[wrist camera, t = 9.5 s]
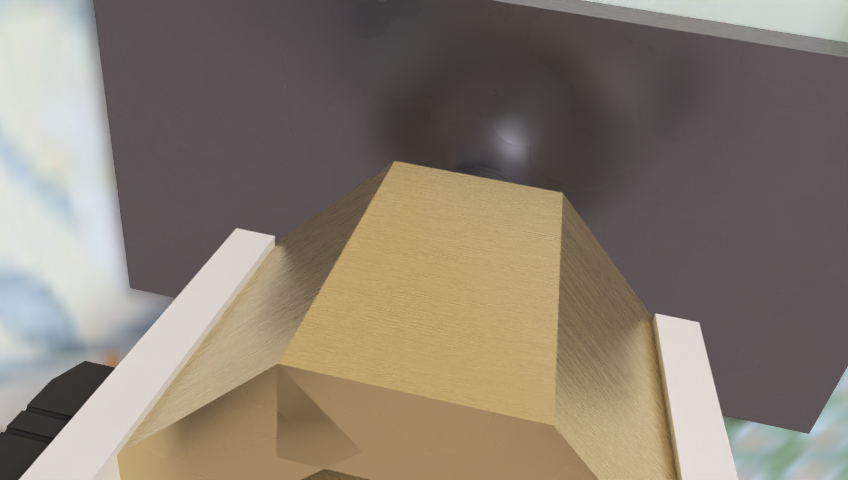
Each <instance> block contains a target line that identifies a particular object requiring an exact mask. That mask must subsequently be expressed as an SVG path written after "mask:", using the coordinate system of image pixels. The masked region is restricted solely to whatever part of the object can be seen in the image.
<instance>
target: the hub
mask: <svg viewBox="0 0 848 480" xmlns="http://www.w3.org/2000/svg"><path fill="white" fill-rule="evenodd" d="M117 460H118V467H119V473H120V480H677V475H676V469H675V463H674V456H673V450H672V444H671V438H670V432H669V425H668V419H667V413H666V407H665V400H664V394H663V388H662V382H661V375H660V369H659V363H658V357H657V351H656V344H655V338H654V332H653V326H652V317H651V315H650V313H649V312H648V310H647V309H646V308H645V306H644V305H643V303H642V302H641V301H640V299H639V298H638V296H637V295H636V294H635V292H634V291H633V290H632V288H631V287H630V285H629V284H628V283H627V281H626V280H625V278H624V277H623V276H622V274H621V273H620V272H619V270H618V269H617V267H616V266H615V265H614V263H613V262H612V260H611V259H610V258H609V256H608V255H607V253H606V252H605V251H604V249H603V248H602V247H601V245H600V244H599V242H598V241H597V240H596V238H595V237H594V235H593V234H592V233H591V231H590V230H589V228H588V227H587V226H586V224H585V223H584V222H583V220H582V219H581V217H580V216H579V215H578V213H577V212H576V210H575V209H574V208H573V206H572V205H571V203H570V202H569V201H568V199H567V198H566V197H565V195H564V194H563V193H562V192H556V191H551V190H546V189H541V188H535V187H530V186H525V185H520V184H514V183H509V182H504V181H498V180H493V179H488V178H483V177H477V176H472V175H467V174H462V173H456V172H451V171H446V170H441V169H435V168H430V167H425V166H419V165H414V164H409V163H404V162H398V161H394V162H392V163H391V164H389V165H388V166H386V167H385V168H383V169H382V170H380V171H379V172H378V173H376V174H375V175H373V176H372V177H370V178H369V179H367V180H366V181H364V182H363V183H361V184H360V185H358V186H357V187H355V188H354V189H353V190H351V191H350V192H348V193H347V194H345V195H344V196H342V197H341V198H339V199H338V200H336V201H335V202H333V203H332V204H331V205H329V206H328V207H326V208H325V209H323V210H322V211H320V212H319V213H317V214H316V215H314V216H313V217H311V218H310V219H308V220H307V221H306V222H304V223H303V224H301V225H300V226H298V227H297V228H295V229H294V230H292V231H291V232H289V233H288V234H286V235H285V236H283V237H282V238H281V239H279V240H278V242H277V243H276V244H275V246H274V247H273V249H272V250H271V251H270V253H269V254H268V255H267V257H266V258H265V259H264V261H263V262H262V263H261V265H260V266H259V267H258V269H257V270H256V271H255V273H254V274H253V275H252V277H251V278H250V279H249V281H248V282H247V283H246V284H245V286H244V287H243V288H242V290H241V291H240V292H239V294H238V295H237V296H236V298H235V299H234V300H233V302H232V303H231V304H230V306H229V307H228V308H227V310H226V311H225V312H224V314H223V315H222V316H221V318H220V319H219V320H218V322H217V323H216V324H215V326H214V327H213V328H212V330H211V331H210V332H209V334H208V335H207V336H206V338H205V339H204V340H203V342H202V343H201V344H200V346H199V347H198V348H197V350H196V351H195V352H194V353H193V355H192V356H191V357H190V359H189V360H188V361H187V363H186V364H185V365H184V367H183V368H182V369H181V371H180V372H179V373H178V375H177V376H176V377H175V379H174V380H173V381H172V383H171V384H170V385H169V387H168V388H167V389H166V391H165V392H164V393H163V395H162V396H161V397H160V399H159V400H158V401H157V403H156V404H155V405H154V407H153V408H152V409H151V411H150V412H149V413H148V415H147V416H146V417H145V419H144V420H143V421H142V422H141V424H140V425H139V426H138V428H137V429H136V430H135V432H134V433H133V434H132V436H131V437H130V438H129V440H128V441H127V442H126V444H125V445H124V446H123V448H122V449H121V450H120V452H119V453H118V454H117Z"/></svg>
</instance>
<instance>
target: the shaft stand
mask: <svg viewBox="0 0 848 480" xmlns="http://www.w3.org/2000/svg"><path fill="white" fill-rule="evenodd" d="M93 1H94V8H95V16H96V24H97V32H98V40H99V48H100V55H101V63H102V71H103V79H104V87H105V94H106V102H107V110H108V118H109V126H110V133H111V141H112V149H113V157H114V165H115V173H116V180H117V188H118V196H119V204H120V212H121V219H122V227H123V235H124V243H125V251H126V258H127V266H128V274H129V282H130V288H133V289H138V290H142V291H147V292H152V293H156V294H161V295H166V296H170V297H175V298H176V297H177V296H178V295H179V294H180V293H181V292H182V291H183V289H184V288H185V287H186V286H187V285H188V284H189V282H190V281H191V280H192V279H193V278H194V277H195V276H196V274H197V273H198V272H199V271H200V270H201V269H202V267H203V266H204V265H205V264H206V263H207V262H208V260H209V259H210V258H211V257H212V256H213V255H214V254H215V252H216V251H217V250H218V249H219V248H220V247H221V245H222V244H223V243H224V242H225V241H226V240H227V239H228V237H229V236H230V235H231V234H232V233H233V232H234V230H235V229H236V228H238V229H243V230H247V231H252V232H257V233H262V234H267V235H272V236H275V244H276V243H277V242H278V240H279V239H281V238H282V237H283V236H285V235H286V234H288V233H289V232H291V231H292V230H294V229H295V228H297V227H298V226H300V225H301V224H303V223H304V222H306V221H307V220H308V219H310V218H311V217H313V216H314V215H316V214H317V213H319V212H320V211H322V210H323V209H325V208H326V207H328V206H329V205H331V204H332V203H333V202H335V201H336V200H338V199H339V198H341V197H342V196H344V195H345V194H347V193H348V192H350V191H351V190H353V189H354V188H355V187H357V186H358V185H360V184H361V183H363V182H364V181H366V180H367V179H369V178H370V177H372V176H373V175H375V174H376V173H378V172H379V171H380V170H382V169H383V168H385V167H386V166H388V165H389V164H391V163H392V162H394V161H398V162H404V163H409V164H414V165H419V166H425V167H430V168H435V169H441V170H446V171H451V172H456V173H462V174H467V175H472V176H477V177H483V178H488V179H493V180H498V181H504V182H509V183H514V184H520V185H525V186H530V187H535V188H541V189H546V190H551V191H556V192H562V193H563V194H564V195H565V197H566V198H567V199H568V201H569V202H570V203H571V205H572V206H573V208H574V209H575V210H576V212H577V213H578V215H579V216H580V217H581V219H582V220H583V222H584V223H585V224H586V226H587V227H588V228H589V230H590V231H591V233H592V234H593V235H594V237H595V238H596V240H597V241H598V242H599V244H600V245H601V247H602V248H603V249H604V251H605V252H606V253H607V255H608V256H609V258H610V259H611V260H612V262H613V263H614V265H615V266H616V267H617V269H618V270H619V272H620V273H621V274H622V276H623V277H624V278H625V280H626V281H627V283H628V284H629V285H630V287H631V288H632V290H633V291H634V292H635V294H636V295H637V296H638V298H639V299H640V301H641V302H642V303H643V305H644V306H645V308H646V309H647V310H648V312H649V313H650V315H651V317H652V322H653V319H654V316H655V313H656V314H661V315H666V316H671V317H675V318H680V319H685V320H690V321H695V322H699V324H700V328H701V332H702V336H703V340H704V344H705V348H706V352H707V356H708V360H709V364H710V368H711V372H712V376H713V380H714V384H715V389H716V393H717V397H718V401H719V405H720V409H721V413H722V415H724V416H729V417H733V418H738V419H743V420H747V421H752V422H757V423H761V424H766V425H771V426H775V427H780V428H785V429H789V430H794V431H799V432H803V433H808V434H809V433H810V431H811V429H812V428H813V426H814V424H815V422H816V421H817V419H818V417H819V415H820V414H821V412H822V410H823V408H824V407H825V405H826V403H827V401H828V400H829V398H830V396H831V394H832V393H833V391H834V389H835V387H836V386H837V384H838V382H839V380H840V379H841V377H842V375H843V373H844V372H845V370H846V368H847V366H848V43H845V42H839V41H833V40H827V39H820V38H814V37H808V36H802V35H795V34H789V33H783V32H777V31H770V30H764V29H758V28H752V27H745V26H739V25H733V24H726V23H720V22H714V21H708V20H701V19H695V18H689V17H683V16H676V15H670V14H664V13H658V12H651V11H645V10H639V9H633V8H626V7H620V6H614V5H607V4H601V3H595V2H589V1H582V0H93Z"/></svg>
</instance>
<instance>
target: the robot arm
mask: <svg viewBox="0 0 848 480" xmlns="http://www.w3.org/2000/svg"><path fill="white" fill-rule="evenodd" d="M274 246H275V236H272V235H267V234H262V233H257V232H252V231H247V230H243V229H238V228H236V229H235V230H234V232H233V233H232V234H231V235H230V236H229V237H228V239H227V240H226V241H225V242H224V243H223V244H222V245H221V247H220V248H219V249H218V250H217V251H216V252H215V254H214V255H213V256H212V257H211V258H210V259H209V260H208V262H207V263H206V264H205V265H204V266H203V267H202V269H201V270H200V271H199V272H198V273H197V274H196V276H195V277H194V278H193V279H192V280H191V281H190V282H189V284H188V285H187V286H186V287H185V288H184V289H183V291H182V292H181V293H180V294H179V295H178V296H177V297H176V299H175V300H174V301H173V302H172V303H171V304H170V306H169V307H168V308H167V309H166V310H165V311H164V313H163V314H162V315H161V316H160V317H159V318H158V319H157V321H156V322H155V323H154V324H153V325H152V326H151V328H150V329H149V330H148V331H147V332H146V333H145V334H144V336H143V337H142V338H141V339H140V340H139V341H138V343H137V344H136V345H135V346H134V347H133V348H132V350H131V351H130V352H129V353H128V354H127V355H126V356H125V358H124V359H123V360H122V361H121V362H120V363H119V365H118V366H117V367H116V368H114V367H109V366H105V365H101V364H96V363H92V362H87V361H84V362H82V363H80V364H79V365H77V366H75V367H74V368H72V369H70V370H68V371H67V372H65V373H63V374H61V375H60V376H58V377H56V378H54V379H53V380H51V381H50V382H49V383H48V384H47V385H46V386H45V387H44V389H43V390H42V391H41V392H40V393H39V394H38V395H37V396H36V397H35V398H34V399H33V400H32V401H31V402H30V403H29V404H28V405H27V409H26V410H25V411H21V412H20V413H19V414H18V416H17V417H16V418H15V419H14V420H13V421H12V422H11V423H10V424H9V425H8V426H7V429H6V431H5V432H1V433H0V480H120V473H119V467H118V460H117V454H118V453H119V452H120V450H121V449H122V448H123V446H124V445H125V444H126V442H127V441H128V440H129V438H130V437H131V436H132V434H133V433H134V432H135V430H136V429H137V428H138V426H139V425H140V424H141V422H142V421H143V420H144V419H145V417H146V416H147V415H148V413H149V412H150V411H151V409H152V408H153V407H154V405H155V404H156V403H157V401H158V400H159V399H160V397H161V396H162V395H163V393H164V392H165V391H166V389H167V388H168V387H169V385H170V384H171V383H172V381H173V380H174V379H175V377H176V376H177V375H178V373H179V372H180V371H181V369H182V368H183V367H184V365H185V364H186V363H187V361H188V360H189V359H190V357H191V356H192V355H193V353H194V352H195V351H196V350H197V348H198V347H199V346H200V344H201V343H202V342H203V340H204V339H205V338H206V336H207V335H208V334H209V332H210V331H211V330H212V328H213V327H214V326H215V324H216V323H217V322H218V320H219V319H220V318H221V316H222V315H223V314H224V312H225V311H226V310H227V308H228V307H229V306H230V304H231V303H232V302H233V300H234V299H235V298H236V296H237V295H238V294H239V292H240V291H241V290H242V288H243V287H244V286H245V284H246V283H247V282H248V281H249V279H250V278H251V277H252V275H253V274H254V273H255V271H256V270H257V269H258V267H259V266H260V265H261V263H262V262H263V261H264V259H265V258H266V257H267V255H268V254H269V253H270V251H271V250H272V249H273V247H274ZM652 326H653V332H654V338H655V344H656V351H657V357H658V363H659V369H660V375H661V382H662V388H663V394H664V400H665V407H666V413H667V419H668V425H669V432H670V438H671V444H672V450H673V456H674V463H675V469H676V475H677V480H738V477H737V473H736V469H735V465H734V461H733V457H732V453H731V449H730V445H729V441H728V437H727V433H726V429H725V425H724V421H723V417H722V413H721V409H720V405H719V401H718V397H717V393H716V389H715V384H714V380H713V376H712V372H711V368H710V364H709V360H708V356H707V352H706V348H705V344H704V340H703V336H702V332H701V328H700V324H699V322H695V321H690V320H685V319H680V318H675V317H671V316H666V315H661V314H656V313H655V316H654V319H653V322H652Z"/></svg>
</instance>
